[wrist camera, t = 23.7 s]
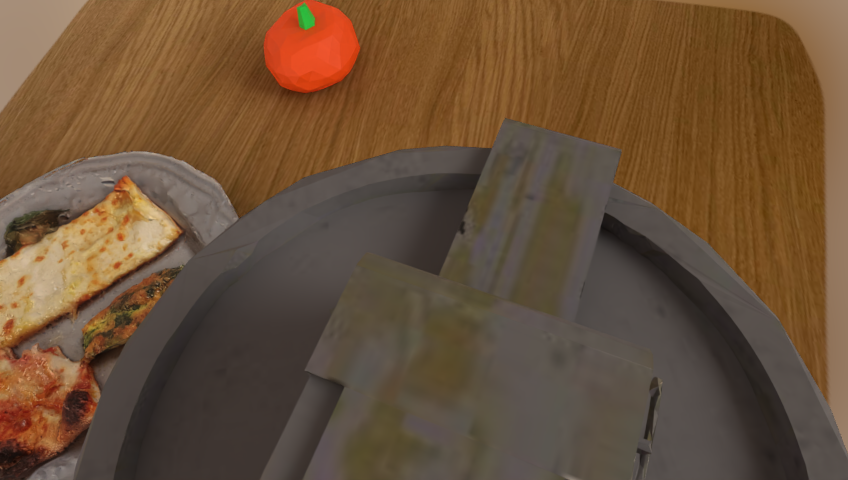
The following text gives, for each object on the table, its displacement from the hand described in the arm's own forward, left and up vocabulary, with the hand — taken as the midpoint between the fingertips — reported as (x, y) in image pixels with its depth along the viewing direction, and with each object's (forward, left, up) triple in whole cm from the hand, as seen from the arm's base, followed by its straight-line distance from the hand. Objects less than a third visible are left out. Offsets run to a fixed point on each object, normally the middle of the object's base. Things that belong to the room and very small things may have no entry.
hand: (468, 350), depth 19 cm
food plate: (+25, -6, -13) cm, 29 cm away
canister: (+1, +4, -6) cm, 8 cm away
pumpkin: (+10, -27, -13) cm, 32 cm away
